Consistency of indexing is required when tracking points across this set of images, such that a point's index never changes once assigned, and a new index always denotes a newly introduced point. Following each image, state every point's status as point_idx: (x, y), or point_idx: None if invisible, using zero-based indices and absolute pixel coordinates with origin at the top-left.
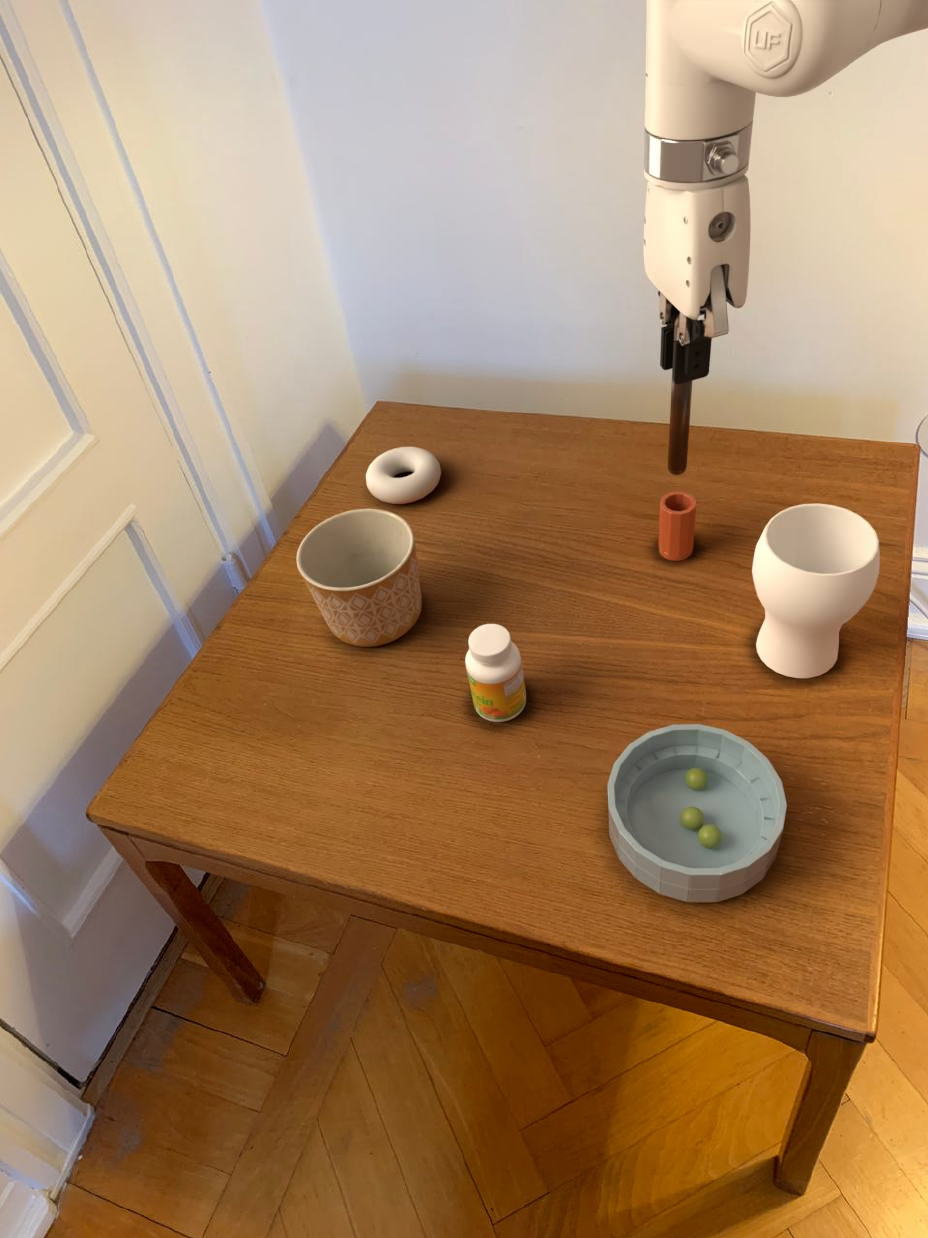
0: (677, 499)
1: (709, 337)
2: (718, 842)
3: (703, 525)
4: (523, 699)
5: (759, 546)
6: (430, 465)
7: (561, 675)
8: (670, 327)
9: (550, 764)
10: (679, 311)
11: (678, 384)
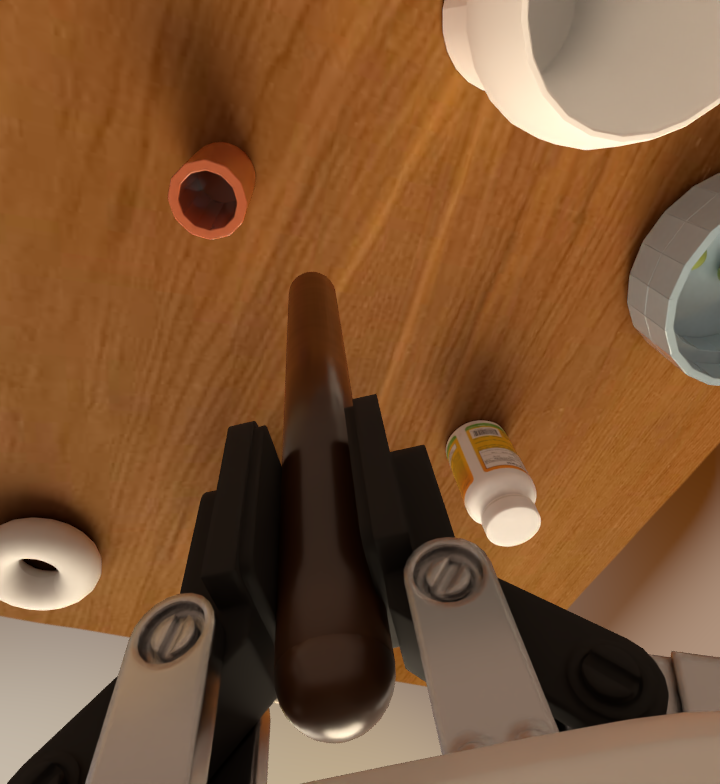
0: (181, 192)
1: (502, 580)
2: None
3: (154, 100)
4: (499, 431)
5: (578, 141)
6: (29, 546)
7: (455, 379)
8: None
9: (576, 399)
10: (230, 706)
11: None
